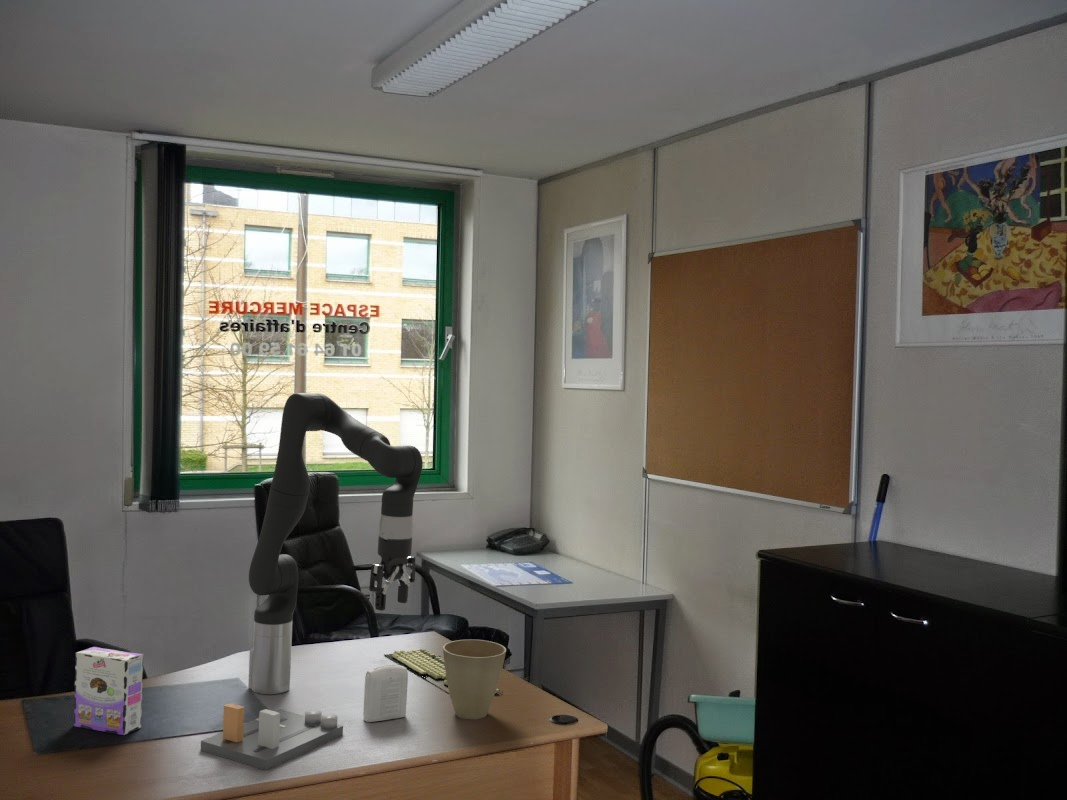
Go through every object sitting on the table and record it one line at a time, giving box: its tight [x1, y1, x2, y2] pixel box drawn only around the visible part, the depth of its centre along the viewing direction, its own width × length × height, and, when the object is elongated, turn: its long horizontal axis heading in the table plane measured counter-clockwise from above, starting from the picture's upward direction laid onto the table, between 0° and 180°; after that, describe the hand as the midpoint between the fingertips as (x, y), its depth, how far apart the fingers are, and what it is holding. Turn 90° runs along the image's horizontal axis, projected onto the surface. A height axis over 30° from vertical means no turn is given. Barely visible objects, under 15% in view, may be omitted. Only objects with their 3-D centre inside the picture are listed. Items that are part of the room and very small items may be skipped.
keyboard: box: [383, 648, 504, 696], centre depth 273 cm, size 45×15×2 cm, turn 34°
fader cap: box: [222, 702, 245, 743], centre depth 214 cm, size 4×2×7 cm, turn 62°
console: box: [200, 708, 344, 771], centre depth 219 cm, size 18×24×9 cm
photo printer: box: [362, 664, 409, 723], centre depth 237 cm, size 10×4×12 cm, turn 123°
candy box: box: [73, 646, 144, 736], centre depth 223 cm, size 14×6×16 cm, turn 71°
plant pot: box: [442, 639, 507, 720], centre depth 242 cm, size 15×15×16 cm
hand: (391, 606), depth 230 cm, fingers open, 8 cm apart
